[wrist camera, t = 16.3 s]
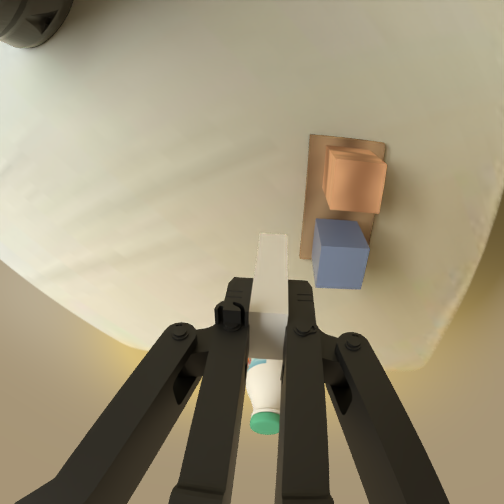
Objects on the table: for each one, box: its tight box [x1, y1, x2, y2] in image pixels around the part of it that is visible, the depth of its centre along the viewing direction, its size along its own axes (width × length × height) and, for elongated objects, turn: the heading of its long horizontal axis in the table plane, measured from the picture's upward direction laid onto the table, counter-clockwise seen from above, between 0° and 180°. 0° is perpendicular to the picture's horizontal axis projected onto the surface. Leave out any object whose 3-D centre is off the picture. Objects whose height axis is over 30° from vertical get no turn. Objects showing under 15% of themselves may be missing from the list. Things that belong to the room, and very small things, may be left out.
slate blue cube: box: [312, 218, 370, 289], centre depth 40 cm, size 6×6×8 cm
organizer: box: [299, 134, 387, 259], centre depth 39 cm, size 10×18×9 cm, turn 179°
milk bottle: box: [246, 358, 283, 435], centre depth 47 cm, size 8×8×20 cm
